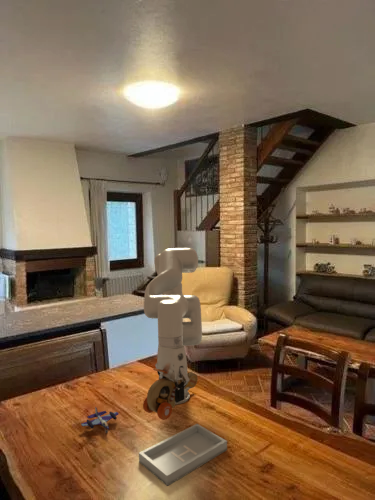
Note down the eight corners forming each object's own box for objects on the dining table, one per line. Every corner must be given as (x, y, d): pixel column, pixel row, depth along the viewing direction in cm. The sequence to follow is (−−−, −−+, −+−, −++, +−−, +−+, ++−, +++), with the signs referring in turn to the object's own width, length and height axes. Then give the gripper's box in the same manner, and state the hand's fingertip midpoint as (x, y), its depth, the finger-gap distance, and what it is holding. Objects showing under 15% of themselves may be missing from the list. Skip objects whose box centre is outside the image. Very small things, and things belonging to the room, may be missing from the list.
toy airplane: (112, 440, 126) (112, 430, 126) (75, 435, 130) (75, 425, 129) (128, 420, 139) (128, 411, 138) (94, 416, 142) (94, 407, 142)
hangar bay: (197, 431, 130) (197, 423, 130) (227, 449, 120) (226, 440, 119) (139, 462, 115) (138, 452, 114) (167, 486, 104) (167, 475, 104)
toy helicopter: (140, 415, 113) (138, 371, 112) (186, 390, 128) (185, 351, 127) (158, 424, 108) (157, 378, 107) (205, 398, 123) (204, 357, 122)
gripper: (198, 344, 111) (199, 402, 112) (164, 331, 124) (165, 383, 126) (178, 350, 106) (179, 411, 108) (144, 336, 120) (146, 390, 121)
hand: (172, 396), depth 117 cm, fingers closed on toy helicopter, 7 cm apart
